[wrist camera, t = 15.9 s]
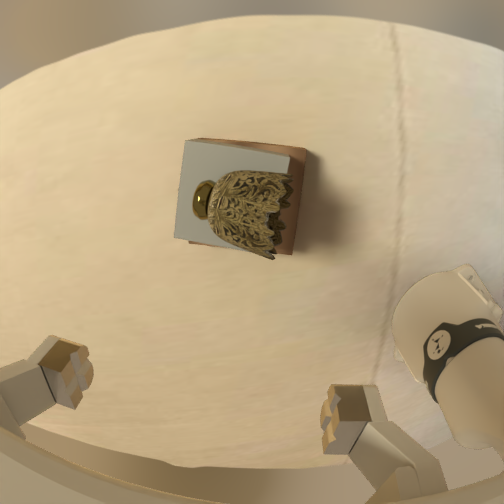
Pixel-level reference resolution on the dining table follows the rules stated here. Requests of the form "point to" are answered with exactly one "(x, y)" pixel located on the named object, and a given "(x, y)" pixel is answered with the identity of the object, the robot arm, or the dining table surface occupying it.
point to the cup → (245, 208)
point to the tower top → (215, 180)
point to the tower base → (297, 171)
